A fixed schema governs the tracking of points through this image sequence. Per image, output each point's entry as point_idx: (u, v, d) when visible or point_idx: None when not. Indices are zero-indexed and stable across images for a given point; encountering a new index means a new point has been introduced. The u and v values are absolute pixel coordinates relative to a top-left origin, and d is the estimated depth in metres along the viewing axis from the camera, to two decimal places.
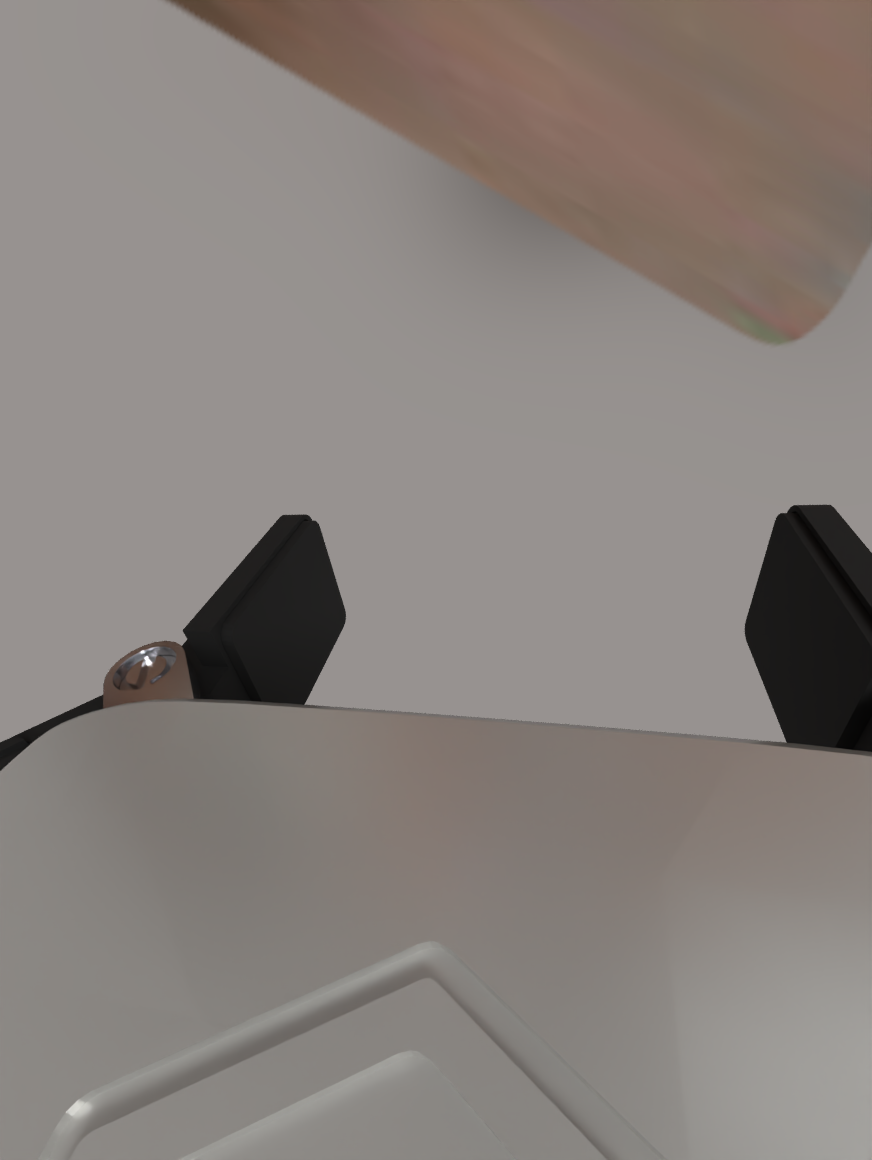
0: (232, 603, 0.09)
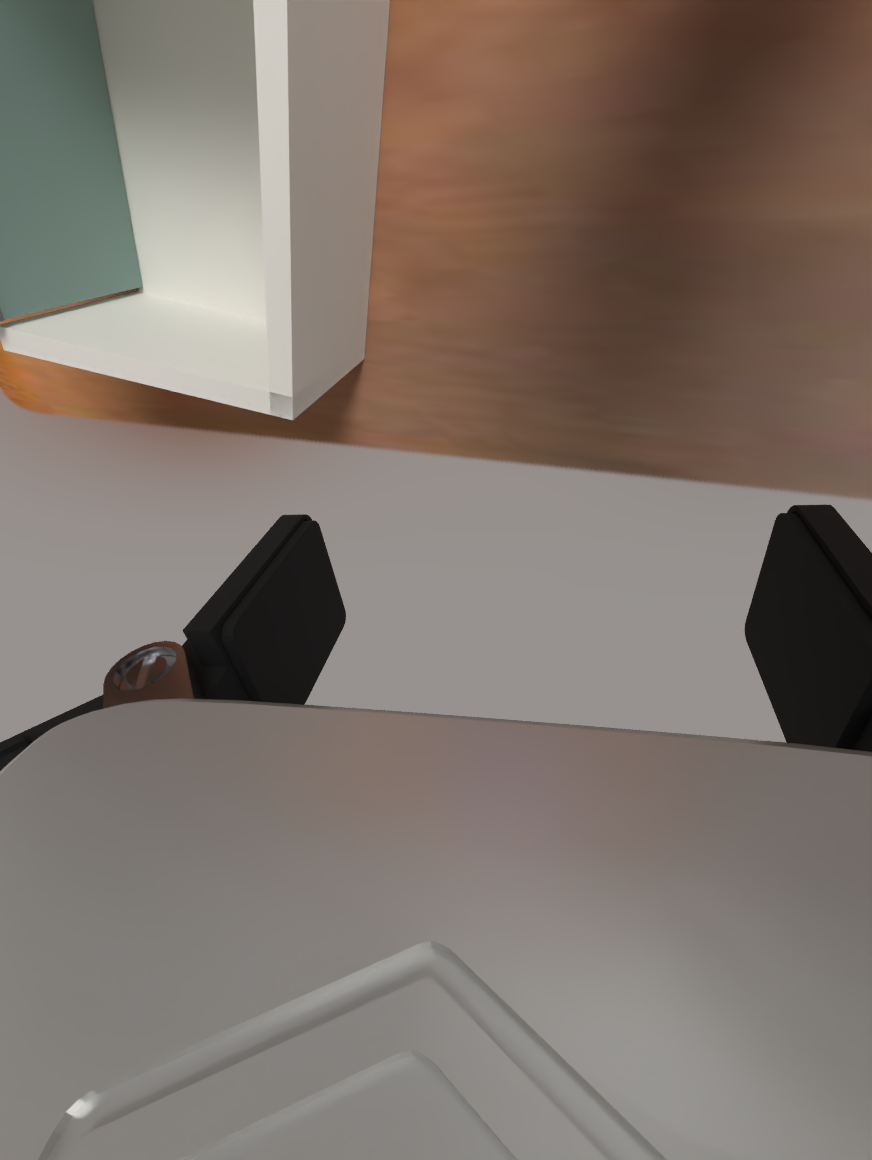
0: (233, 603, 0.09)
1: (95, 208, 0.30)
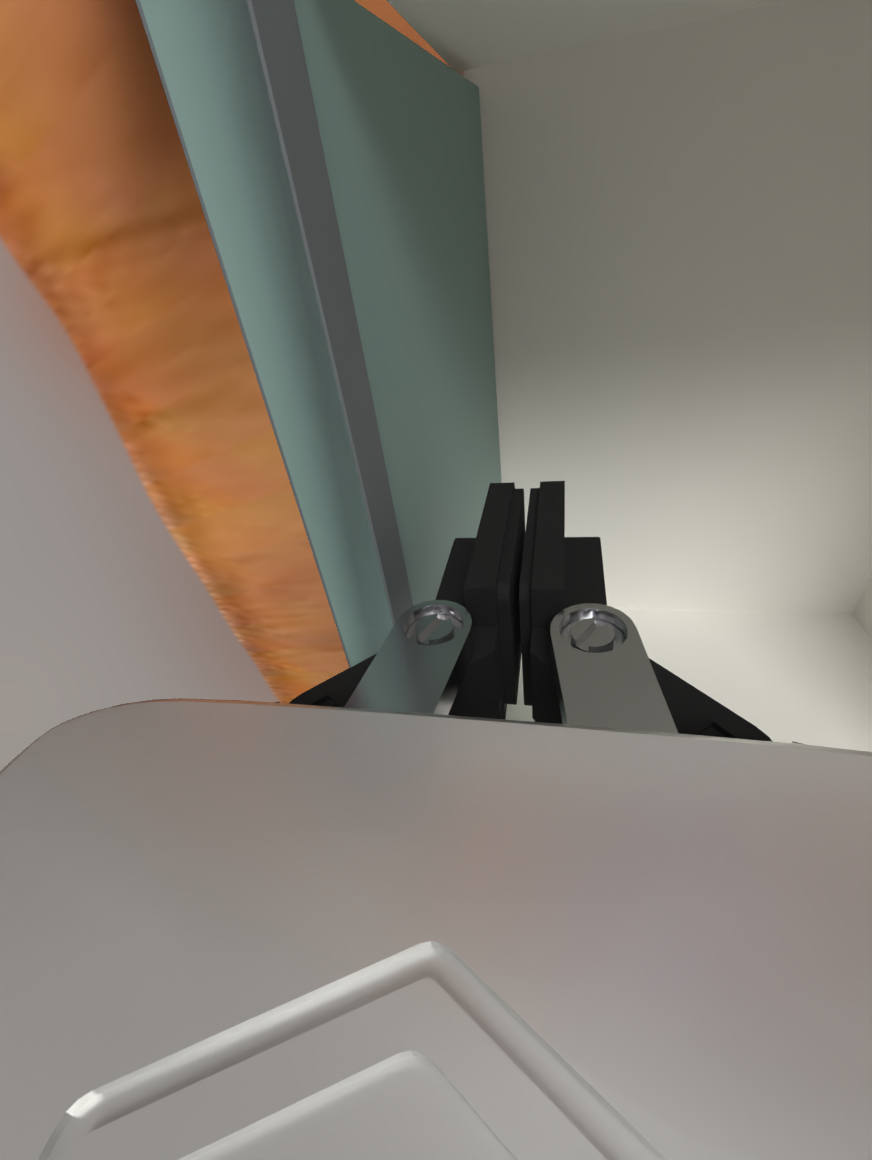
0: (499, 562, 0.09)
1: None
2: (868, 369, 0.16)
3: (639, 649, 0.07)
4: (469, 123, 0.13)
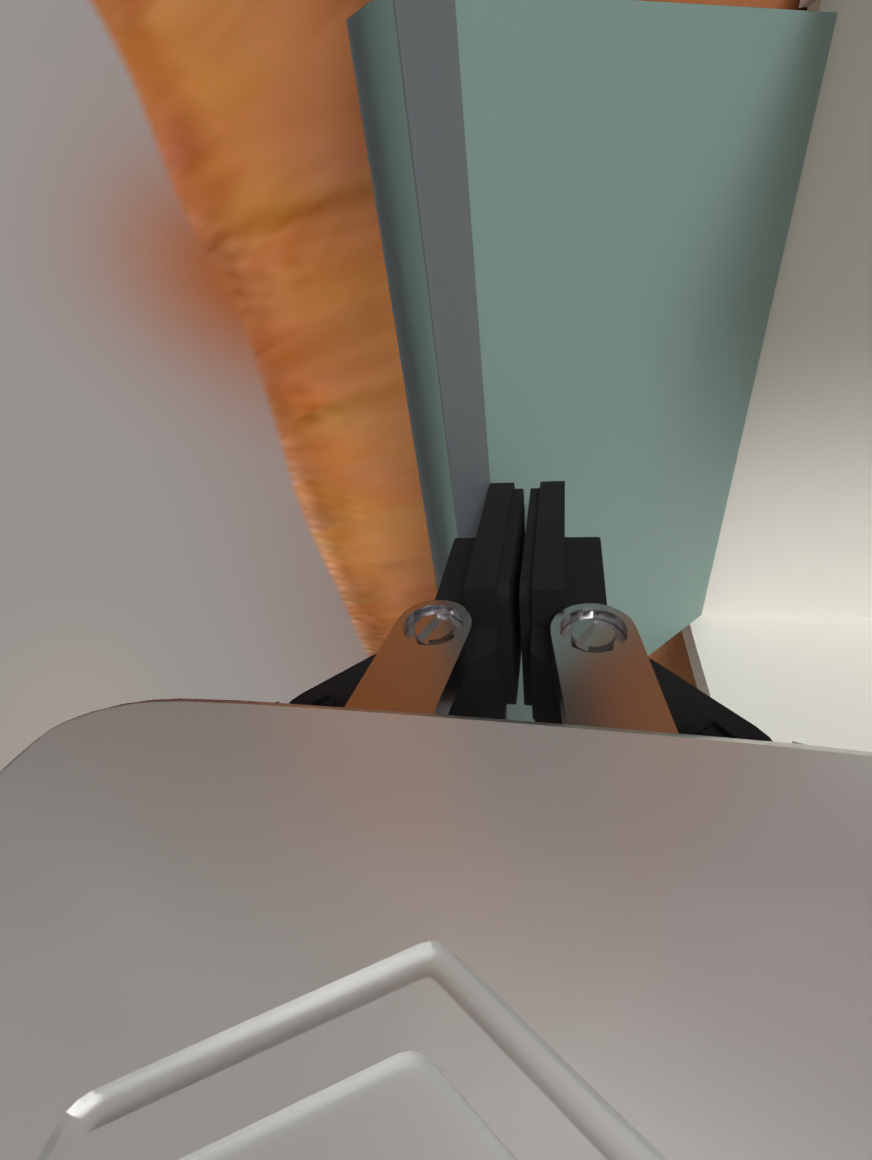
0: (499, 562, 0.09)
1: (675, 556, 0.18)
2: None
3: (640, 649, 0.07)
4: (790, 64, 0.11)
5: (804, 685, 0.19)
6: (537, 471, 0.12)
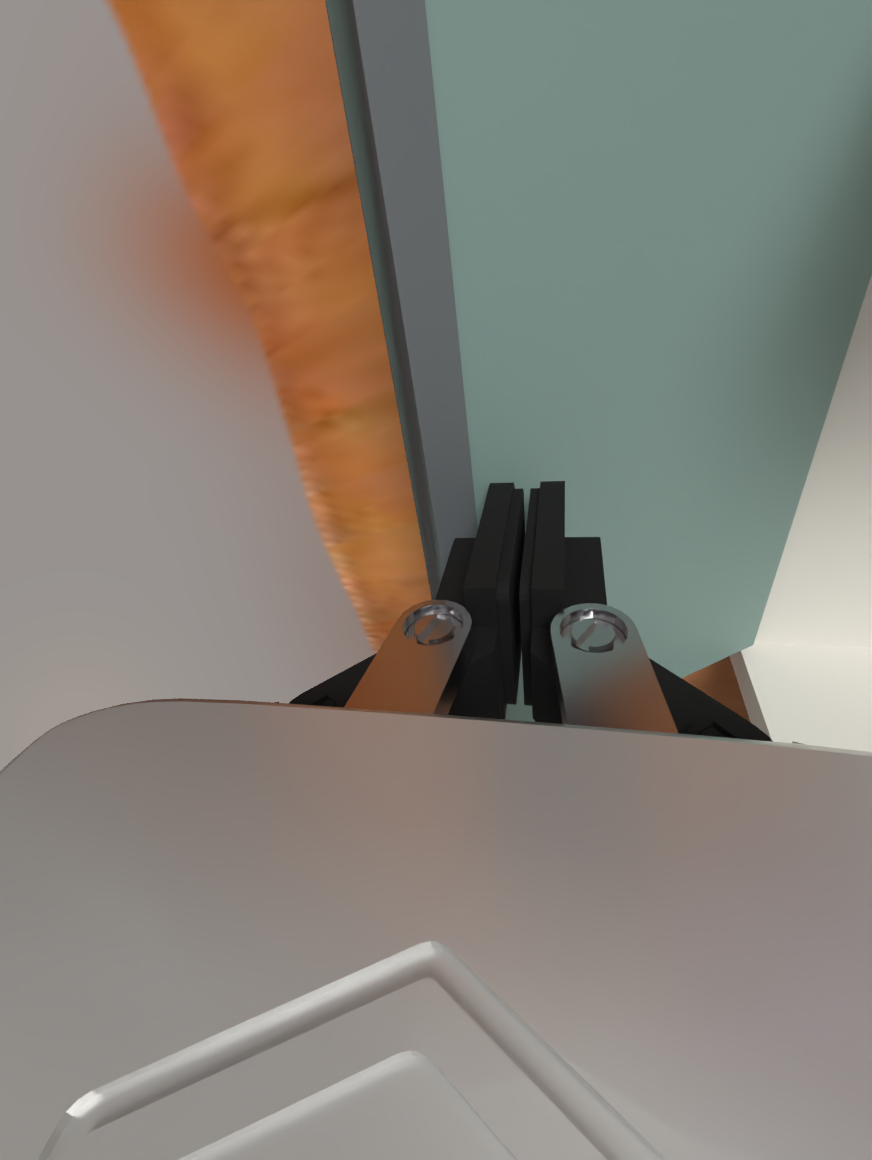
0: (499, 562, 0.09)
1: (716, 577, 0.17)
2: None
3: (639, 649, 0.07)
4: None
5: None
6: (532, 471, 0.12)
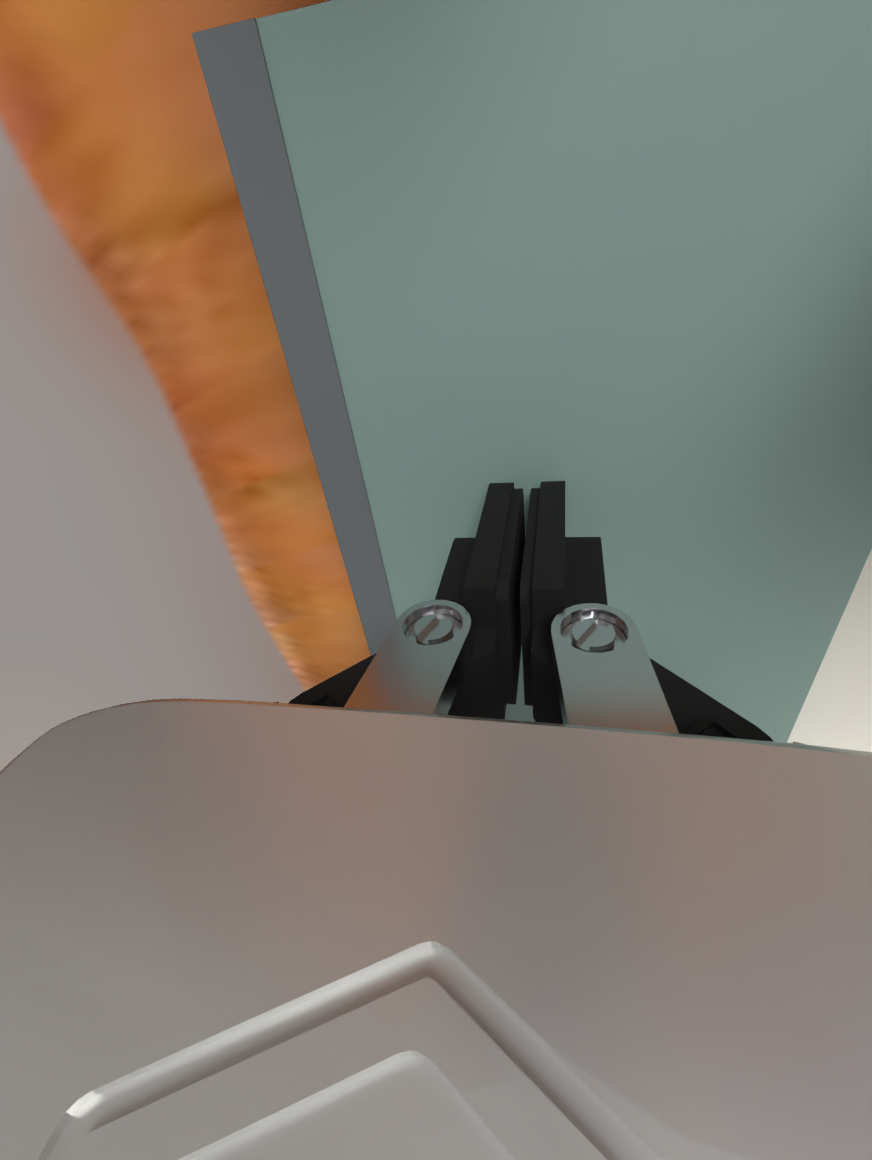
0: (498, 562, 0.09)
1: (702, 666, 0.14)
2: None
3: (640, 649, 0.07)
4: None
5: None
6: (430, 491, 0.12)
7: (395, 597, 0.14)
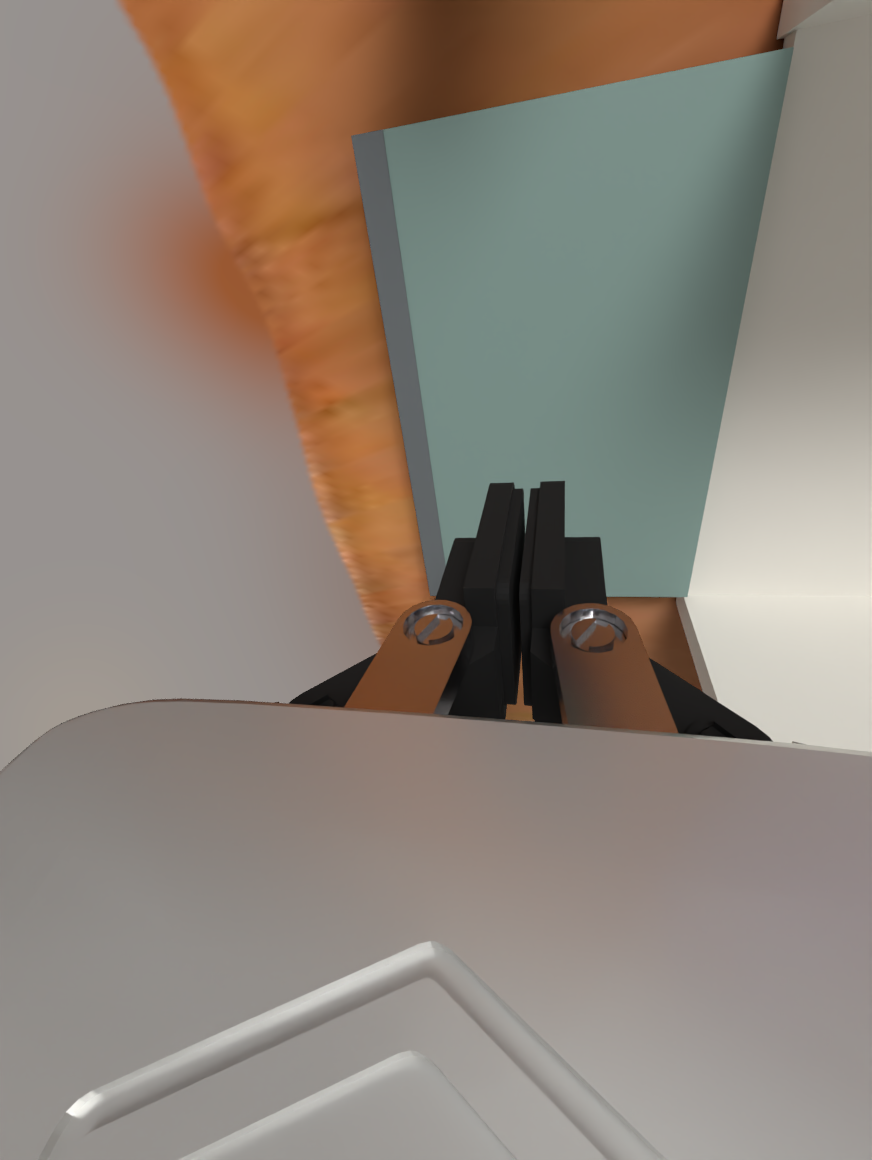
0: (498, 562, 0.09)
1: (629, 513, 0.21)
2: None
3: (639, 649, 0.07)
4: (719, 103, 0.14)
5: (793, 655, 0.20)
6: (458, 386, 0.20)
7: (433, 462, 0.22)
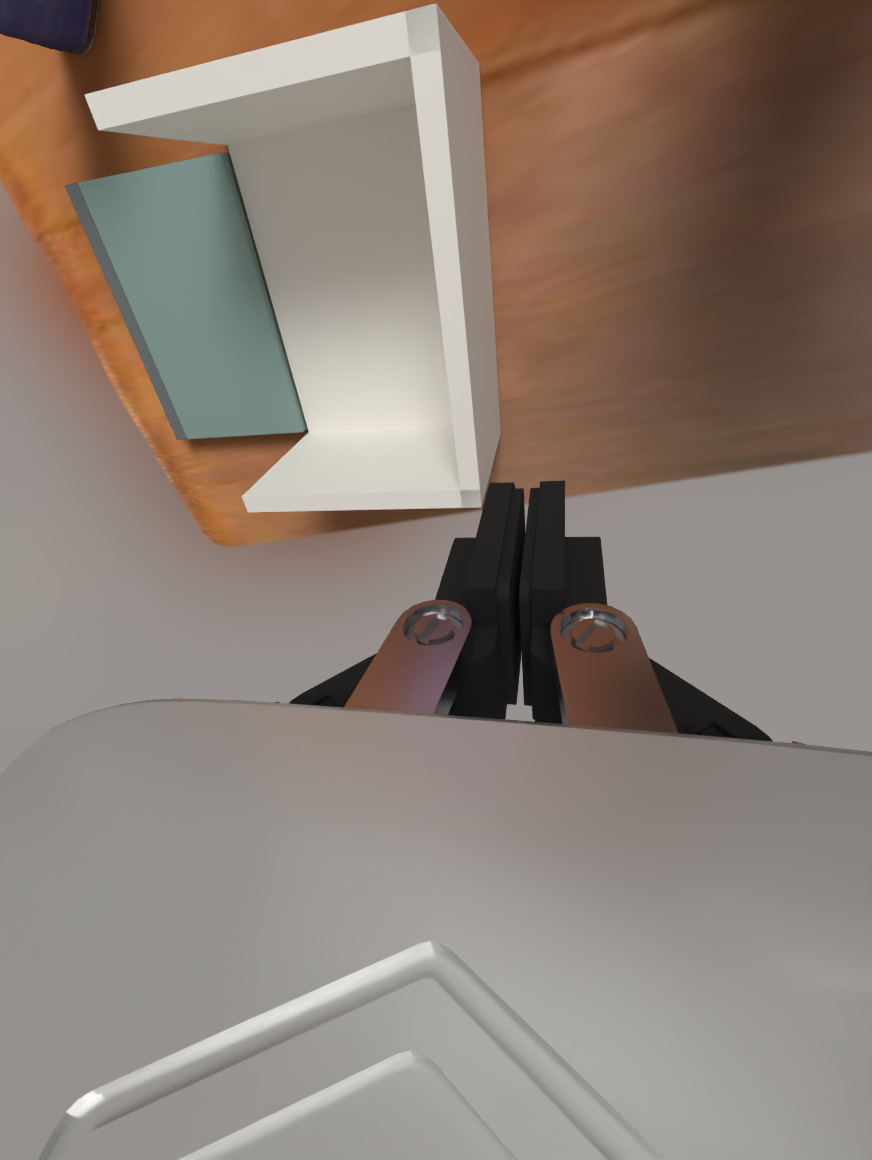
0: (499, 562, 0.09)
1: (253, 379, 0.40)
2: (433, 279, 0.34)
3: (639, 649, 0.07)
4: (203, 174, 0.33)
5: (326, 450, 0.39)
6: (148, 308, 0.38)
7: (151, 352, 0.40)
